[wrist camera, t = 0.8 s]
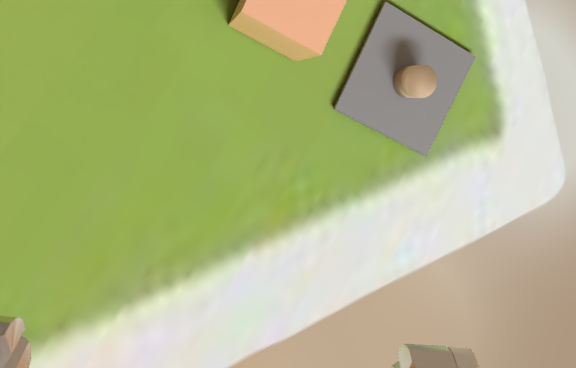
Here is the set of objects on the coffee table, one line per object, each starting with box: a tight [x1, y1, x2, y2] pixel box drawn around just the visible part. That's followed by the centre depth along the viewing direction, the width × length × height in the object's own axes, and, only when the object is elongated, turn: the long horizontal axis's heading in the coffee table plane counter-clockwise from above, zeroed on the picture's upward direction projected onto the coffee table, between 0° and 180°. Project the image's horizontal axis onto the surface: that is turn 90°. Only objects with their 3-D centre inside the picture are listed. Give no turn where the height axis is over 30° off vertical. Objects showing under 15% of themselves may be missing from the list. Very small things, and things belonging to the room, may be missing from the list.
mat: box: [333, 2, 476, 156], centre depth 48 cm, size 11×11×1 cm
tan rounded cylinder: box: [393, 65, 437, 98], centre depth 46 cm, size 3×3×3 cm
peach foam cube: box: [228, 0, 347, 61], centre depth 40 cm, size 7×7×8 cm
